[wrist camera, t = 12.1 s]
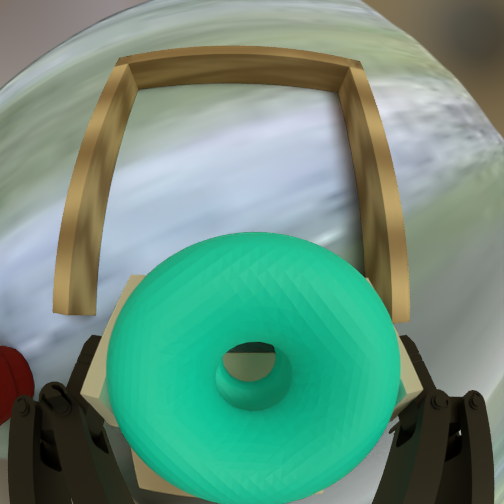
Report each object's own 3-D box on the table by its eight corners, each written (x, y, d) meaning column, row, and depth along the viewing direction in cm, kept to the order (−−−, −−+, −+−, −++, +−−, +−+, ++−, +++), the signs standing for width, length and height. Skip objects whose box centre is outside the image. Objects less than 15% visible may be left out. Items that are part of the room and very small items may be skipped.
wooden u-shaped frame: (381, 320, 19) (409, 321, 15) (81, 313, 18) (52, 312, 14) (348, 86, 24) (360, 61, 20) (129, 82, 23) (119, 57, 19)
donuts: (236, 549, 5) (41, 348, 6) (236, 446, 15) (140, 334, 16) (454, 386, 7) (284, 158, 8) (352, 356, 16) (259, 241, 18)
